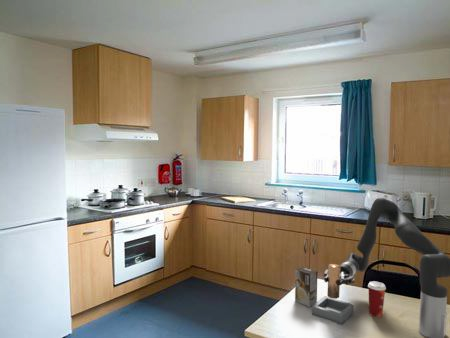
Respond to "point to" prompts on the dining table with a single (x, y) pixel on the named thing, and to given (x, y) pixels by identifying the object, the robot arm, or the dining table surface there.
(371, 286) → the paper cup
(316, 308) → the grey tray
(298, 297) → the coffee box
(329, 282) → the copper tin
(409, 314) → the dining table surface
